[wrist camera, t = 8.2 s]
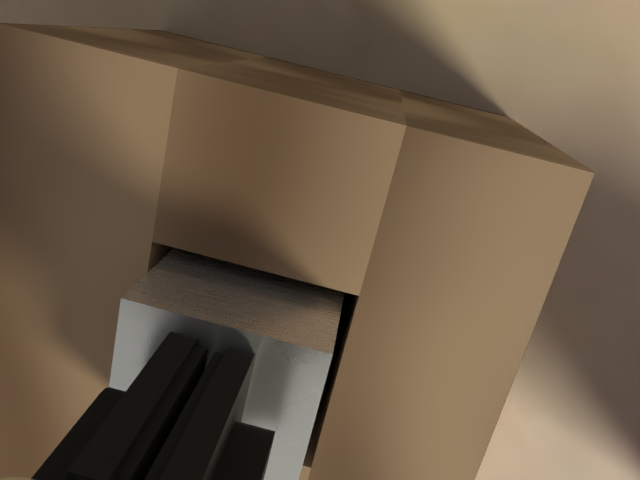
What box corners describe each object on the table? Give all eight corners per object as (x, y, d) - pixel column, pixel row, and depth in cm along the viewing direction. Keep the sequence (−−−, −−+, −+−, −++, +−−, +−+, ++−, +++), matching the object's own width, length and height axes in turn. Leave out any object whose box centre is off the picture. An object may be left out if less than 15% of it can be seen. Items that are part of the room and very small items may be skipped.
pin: (356, 226, 19) (332, 354, 11) (326, 339, 20) (286, 523, 12) (230, 194, 19) (120, 298, 11) (208, 309, 20) (97, 471, 12)
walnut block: (509, 117, 20) (595, 173, 12) (327, 661, 29) (300, 922, 20) (160, 30, 21) (-3, 23, 12) (83, 592, 29) (-44, 821, 20)
